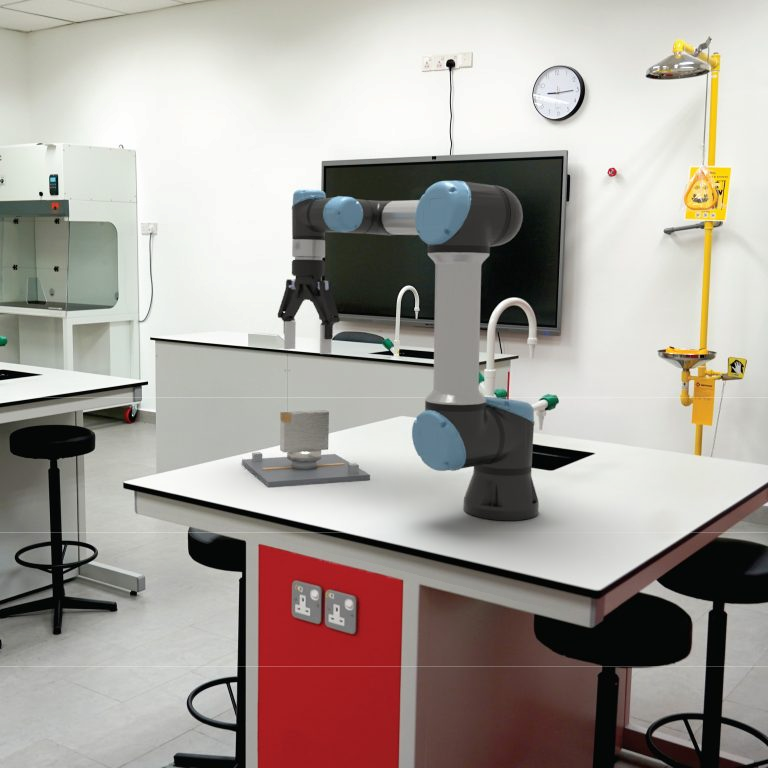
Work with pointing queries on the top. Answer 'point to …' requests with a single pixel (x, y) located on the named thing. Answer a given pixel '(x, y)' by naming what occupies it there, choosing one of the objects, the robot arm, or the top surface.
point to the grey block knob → (304, 434)
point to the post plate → (303, 470)
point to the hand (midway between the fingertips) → (307, 351)
